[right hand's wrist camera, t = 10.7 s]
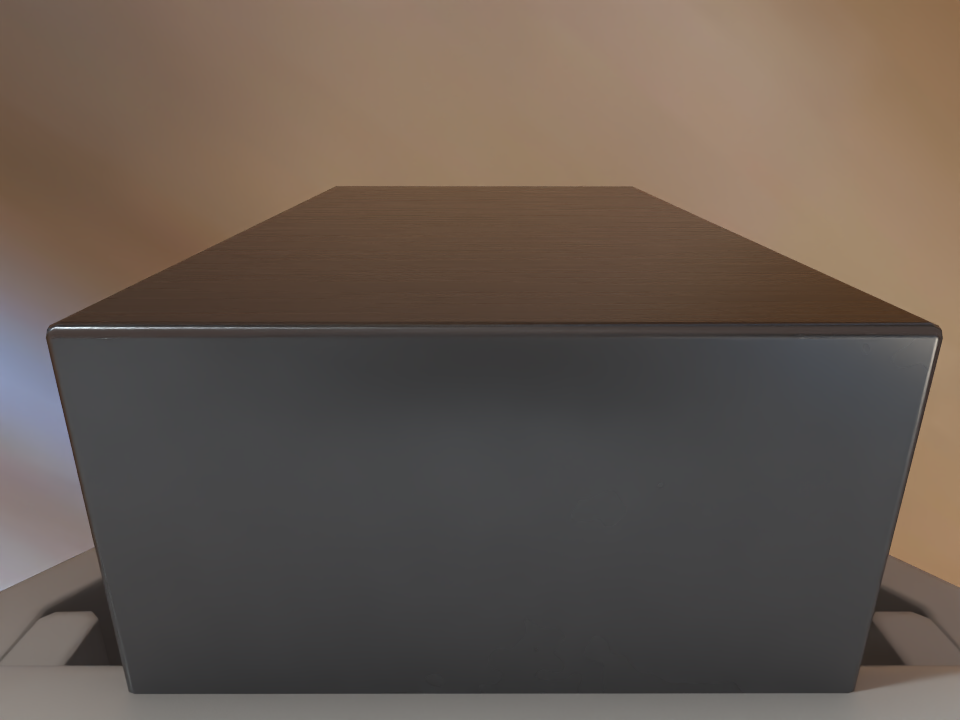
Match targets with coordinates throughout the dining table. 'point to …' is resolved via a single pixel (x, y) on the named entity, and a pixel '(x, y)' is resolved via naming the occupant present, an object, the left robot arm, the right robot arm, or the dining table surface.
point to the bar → (492, 452)
